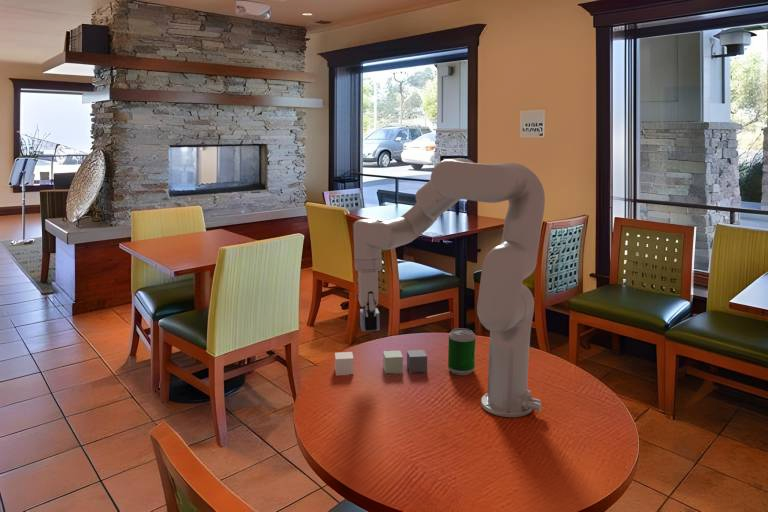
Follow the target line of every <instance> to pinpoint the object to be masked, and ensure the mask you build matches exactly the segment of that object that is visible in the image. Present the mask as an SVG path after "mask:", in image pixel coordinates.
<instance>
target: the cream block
mask: <svg viewBox="0 0 768 512" xmlns="http://www.w3.org/2000/svg"><path fill="white" fill-rule="evenodd" d="M354 364H355V363H354V354H353V351H342V352H341V351H339V352H334V370H335V371H334V372H335V376H350V375H349V374H354V373H355V372H354V368H355V367H354Z"/></svg>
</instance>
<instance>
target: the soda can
mask: <svg viewBox="0 0 768 512" xmlns="http://www.w3.org/2000/svg"><path fill="white" fill-rule="evenodd" d="M476 338H477V337H476V334H475V333H474V332H473V330H471V329H469V328H463V327H461V328H459V327H458V328H453V329H452V330H451V331H450V332H449V333H448V350H447V351H448V355H447V357H448V359H447V362H448V363H447V367H448V369H449V371H450V372H451V373H452V374H454V375H456V376H468V375H470V374H472V372H474V370H475V366H476V365H475V364H476V362H475V360H476Z"/></svg>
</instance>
